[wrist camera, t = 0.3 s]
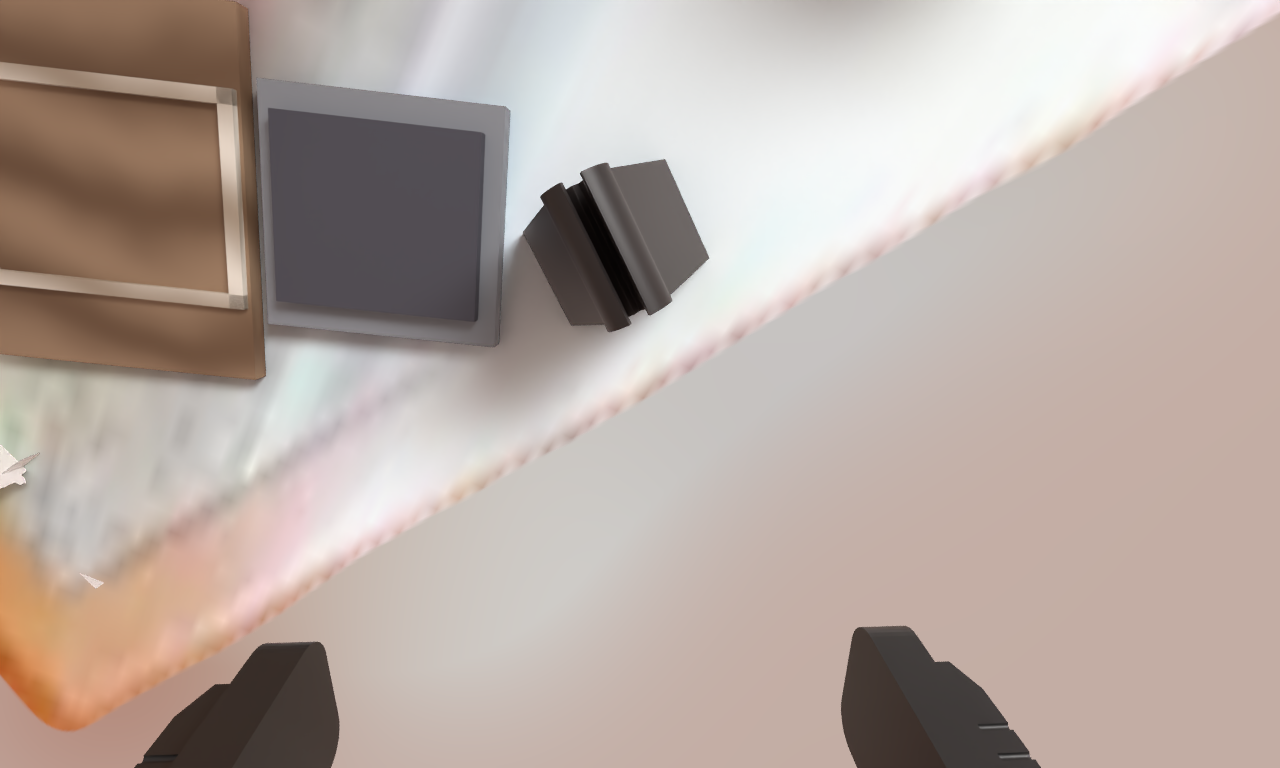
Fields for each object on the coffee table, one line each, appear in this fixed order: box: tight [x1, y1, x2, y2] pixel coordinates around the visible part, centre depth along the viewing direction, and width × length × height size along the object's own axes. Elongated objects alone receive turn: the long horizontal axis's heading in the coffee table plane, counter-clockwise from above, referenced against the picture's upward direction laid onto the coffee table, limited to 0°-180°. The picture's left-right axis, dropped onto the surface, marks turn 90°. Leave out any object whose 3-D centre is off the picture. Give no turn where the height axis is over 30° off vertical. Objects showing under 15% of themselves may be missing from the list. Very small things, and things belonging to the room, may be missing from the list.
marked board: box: [0, 0, 266, 380], centre depth 33 cm, size 20×15×1 cm
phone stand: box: [523, 159, 709, 332], centre depth 29 cm, size 9×6×12 cm, turn 116°
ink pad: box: [256, 78, 510, 347], centre depth 33 cm, size 13×13×2 cm
